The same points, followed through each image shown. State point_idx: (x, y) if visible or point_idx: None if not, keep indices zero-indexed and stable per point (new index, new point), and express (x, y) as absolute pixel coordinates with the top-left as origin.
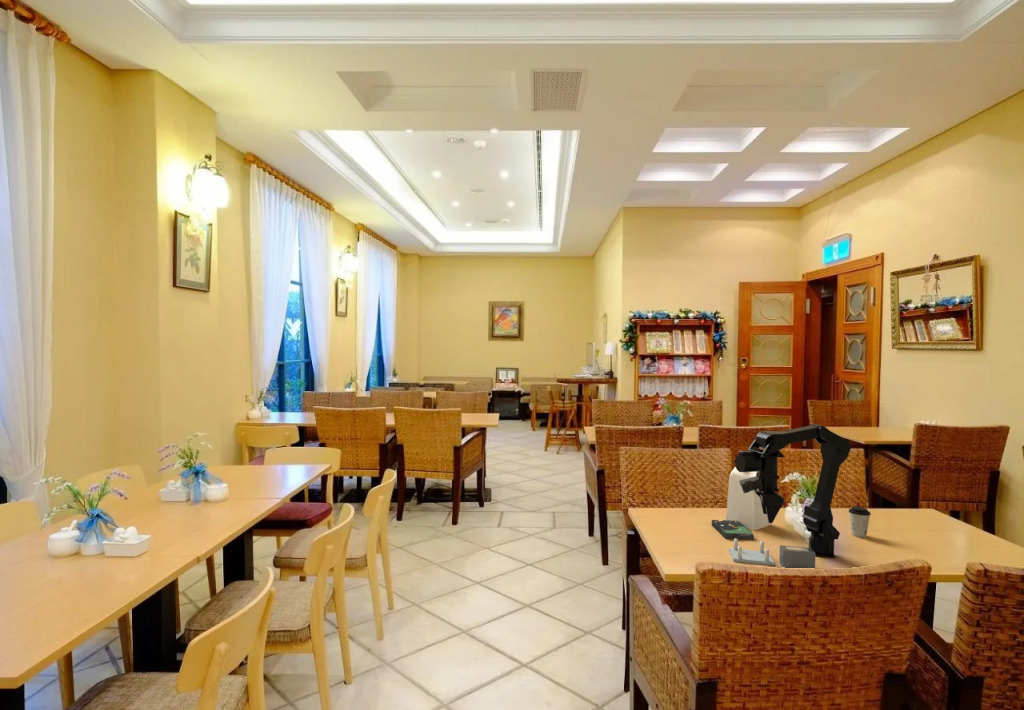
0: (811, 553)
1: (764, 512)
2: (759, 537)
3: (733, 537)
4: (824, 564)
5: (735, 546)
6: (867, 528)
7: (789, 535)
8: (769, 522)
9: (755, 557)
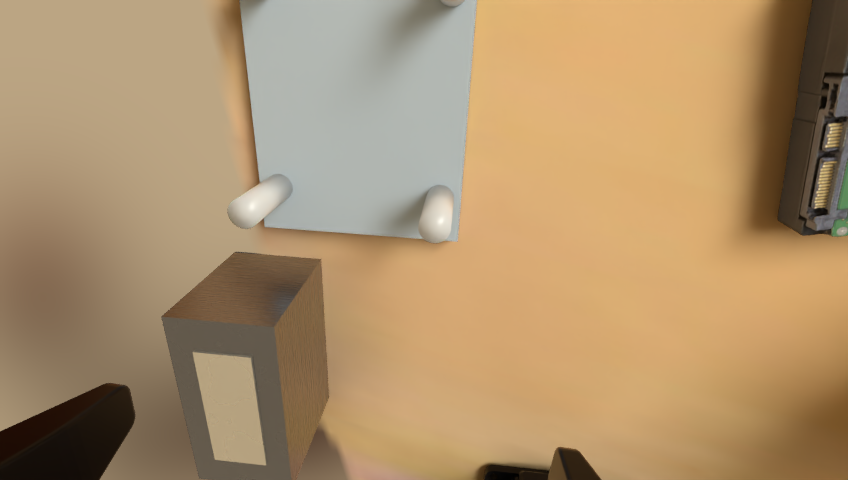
0: (197, 458)
1: (556, 475)
2: (826, 277)
3: (816, 45)
4: (380, 461)
5: None
6: None
7: (844, 463)
8: (106, 392)
9: (313, 121)
